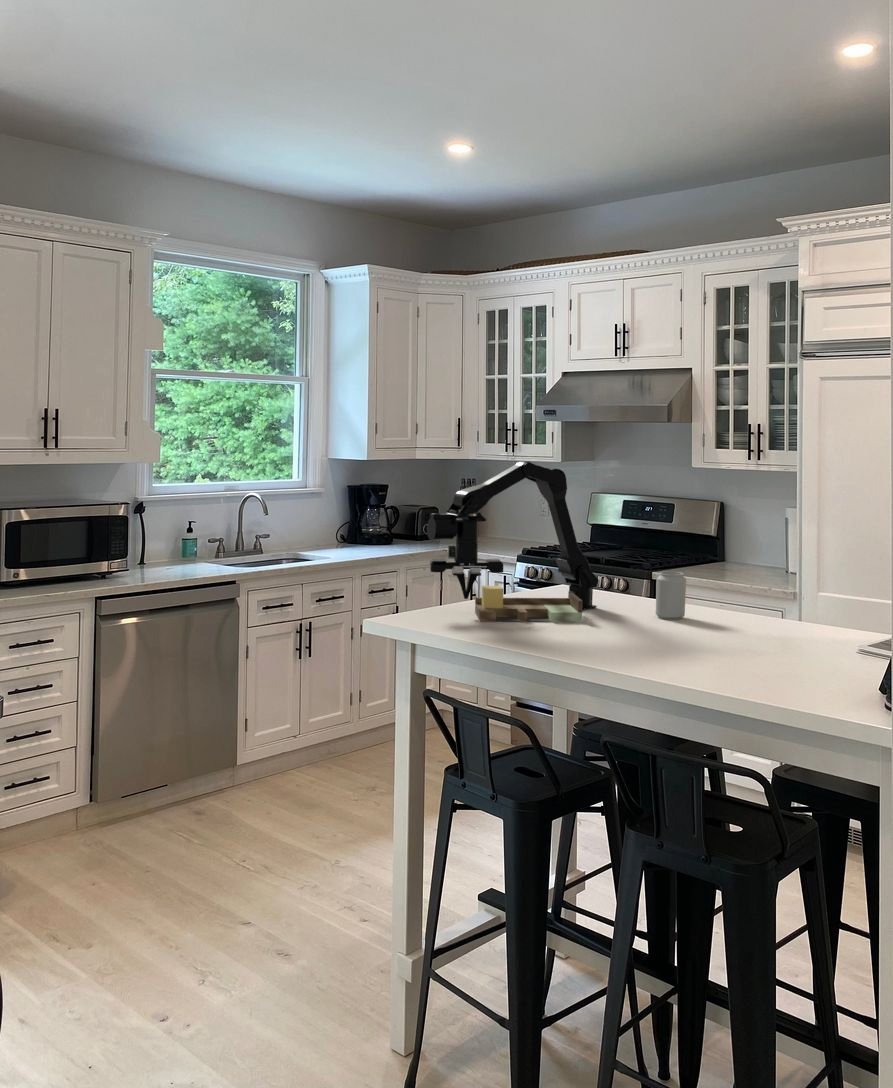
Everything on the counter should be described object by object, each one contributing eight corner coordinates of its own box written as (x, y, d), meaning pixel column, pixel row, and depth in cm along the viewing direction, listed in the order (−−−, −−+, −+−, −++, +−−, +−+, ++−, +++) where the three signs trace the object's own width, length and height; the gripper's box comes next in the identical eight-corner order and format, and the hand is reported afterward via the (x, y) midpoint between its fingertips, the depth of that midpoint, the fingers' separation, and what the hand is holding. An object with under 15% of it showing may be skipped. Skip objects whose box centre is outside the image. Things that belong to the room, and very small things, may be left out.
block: (500, 604, 258) (500, 585, 257) (502, 608, 253) (503, 588, 252) (481, 604, 257) (482, 585, 257) (483, 607, 252) (484, 588, 252)
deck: (571, 612, 261) (572, 592, 261) (581, 622, 249) (582, 600, 248) (475, 612, 260) (475, 592, 259) (480, 621, 247) (480, 600, 246)
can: (682, 615, 260) (684, 570, 259) (686, 620, 253) (688, 574, 251) (653, 614, 261) (655, 570, 260) (657, 619, 254) (658, 574, 252)
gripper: (498, 536, 261) (497, 593, 263) (429, 535, 260) (428, 593, 262) (504, 540, 250) (503, 600, 252) (431, 540, 249) (430, 600, 251)
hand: (465, 598), depth 254 cm, fingers closed
